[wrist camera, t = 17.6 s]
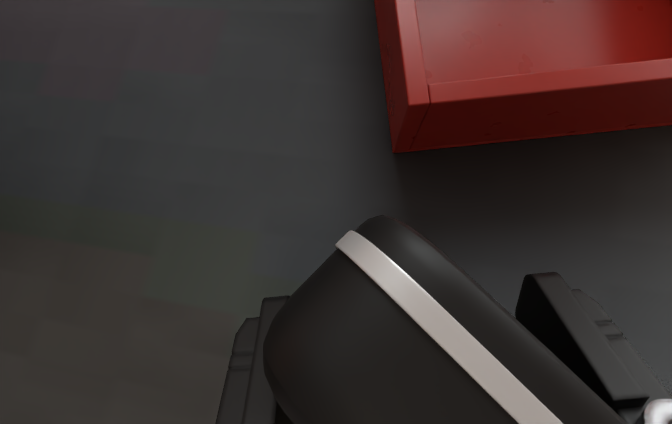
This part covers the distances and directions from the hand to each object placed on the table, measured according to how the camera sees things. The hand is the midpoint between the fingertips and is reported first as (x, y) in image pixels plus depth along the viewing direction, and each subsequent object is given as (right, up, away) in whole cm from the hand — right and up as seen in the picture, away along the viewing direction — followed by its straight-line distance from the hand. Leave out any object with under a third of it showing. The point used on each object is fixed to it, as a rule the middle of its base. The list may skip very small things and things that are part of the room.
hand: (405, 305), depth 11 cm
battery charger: (0, -2, +5) cm, 6 cm away
